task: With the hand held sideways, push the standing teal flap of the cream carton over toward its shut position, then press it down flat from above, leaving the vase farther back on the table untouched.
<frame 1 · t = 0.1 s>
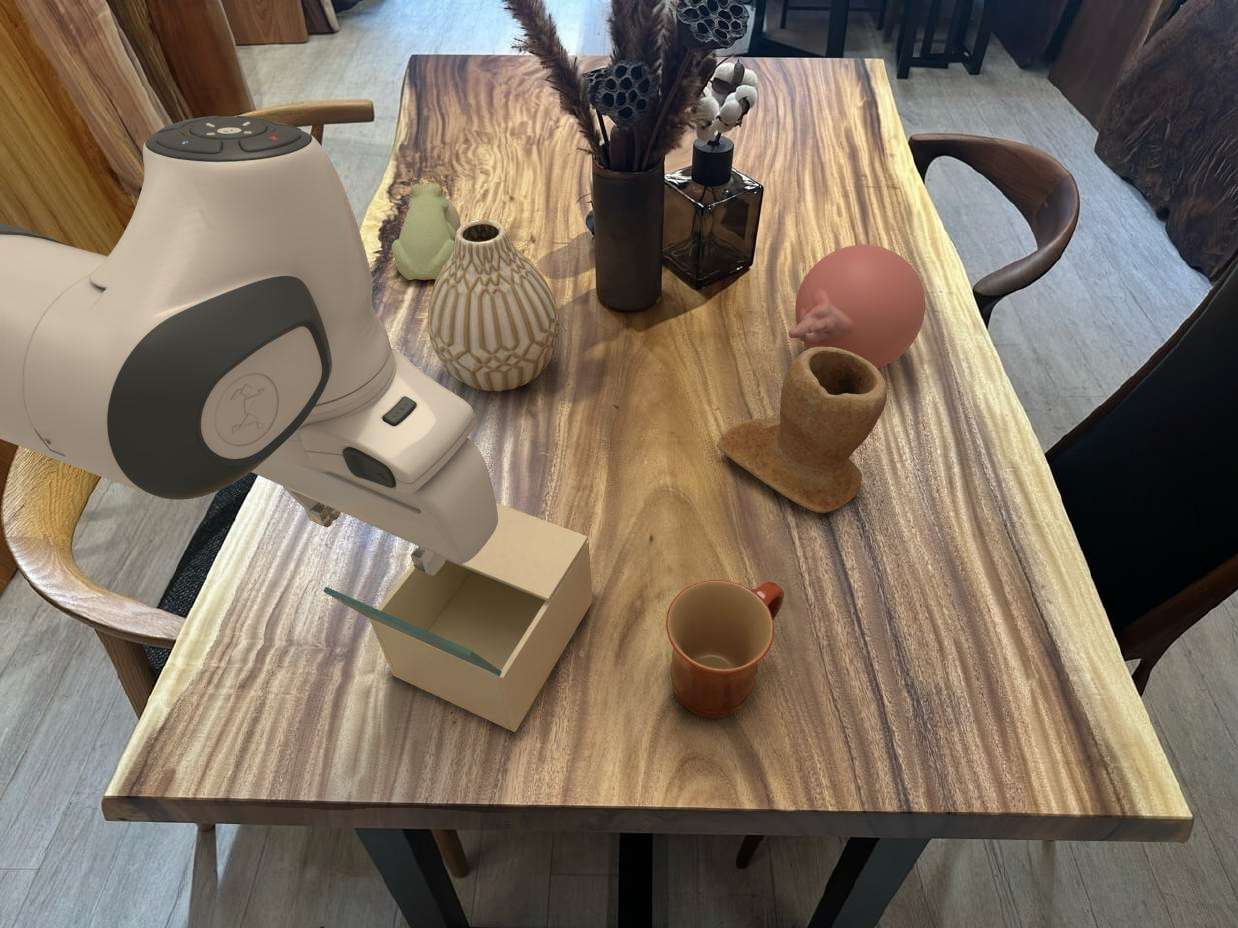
hand: (377, 541, 58), 21 cm above the table, tool pointing down, fingers open, 8 cm apart
vase: (501, 371, 104), on the table
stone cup: (797, 468, 92), on the table
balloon: (833, 365, 104), on the table
mug: (723, 676, 74), on the table
carton: (496, 637, 77), on the table
flap: (414, 632, 61), point 14 cm above the table, hinge at 110.0°
figurine: (435, 256, 123), on the table
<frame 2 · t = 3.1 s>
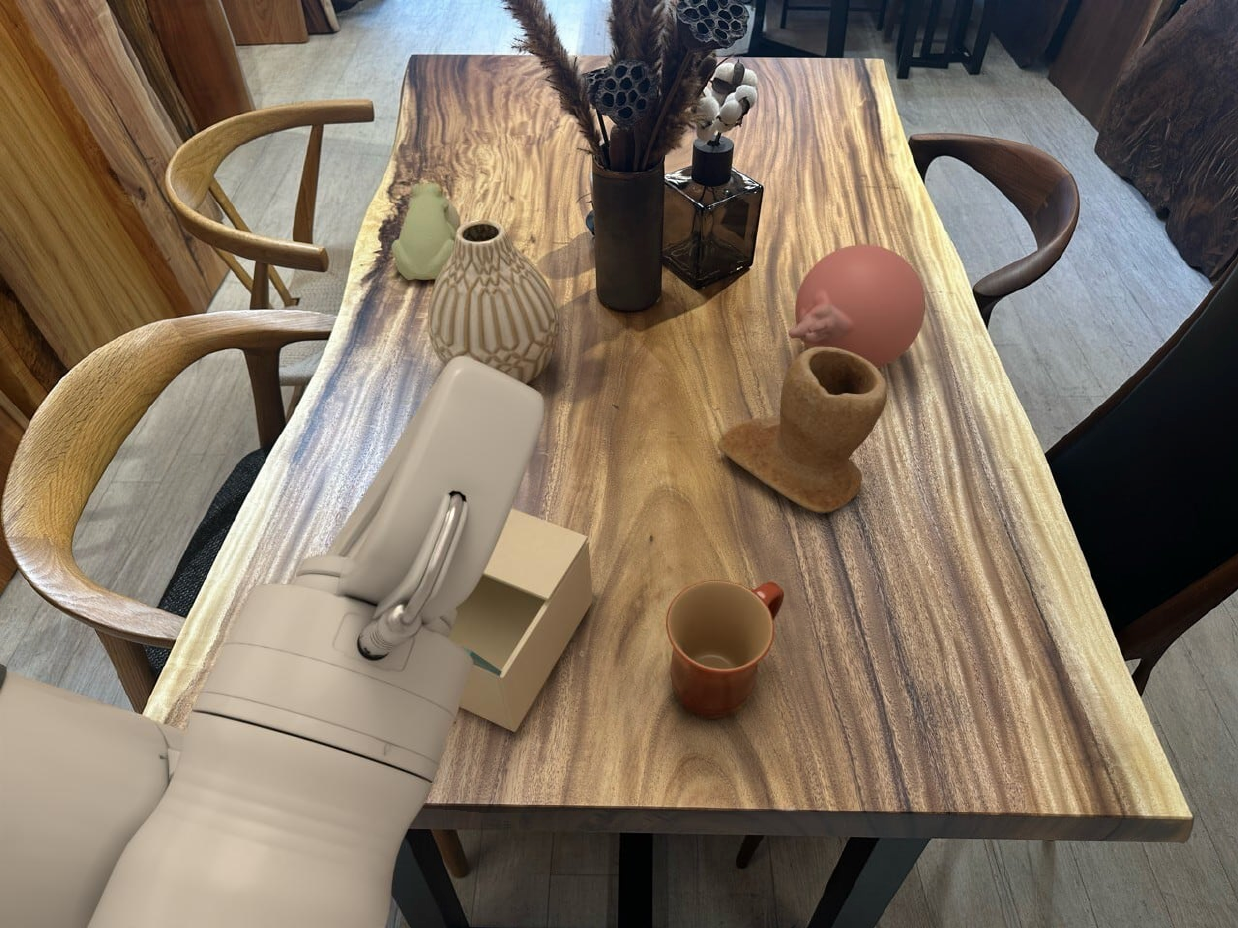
hand: (468, 374, 37), 43 cm above the table, tool pointing upward, fingers closed
nothing on the table moved.
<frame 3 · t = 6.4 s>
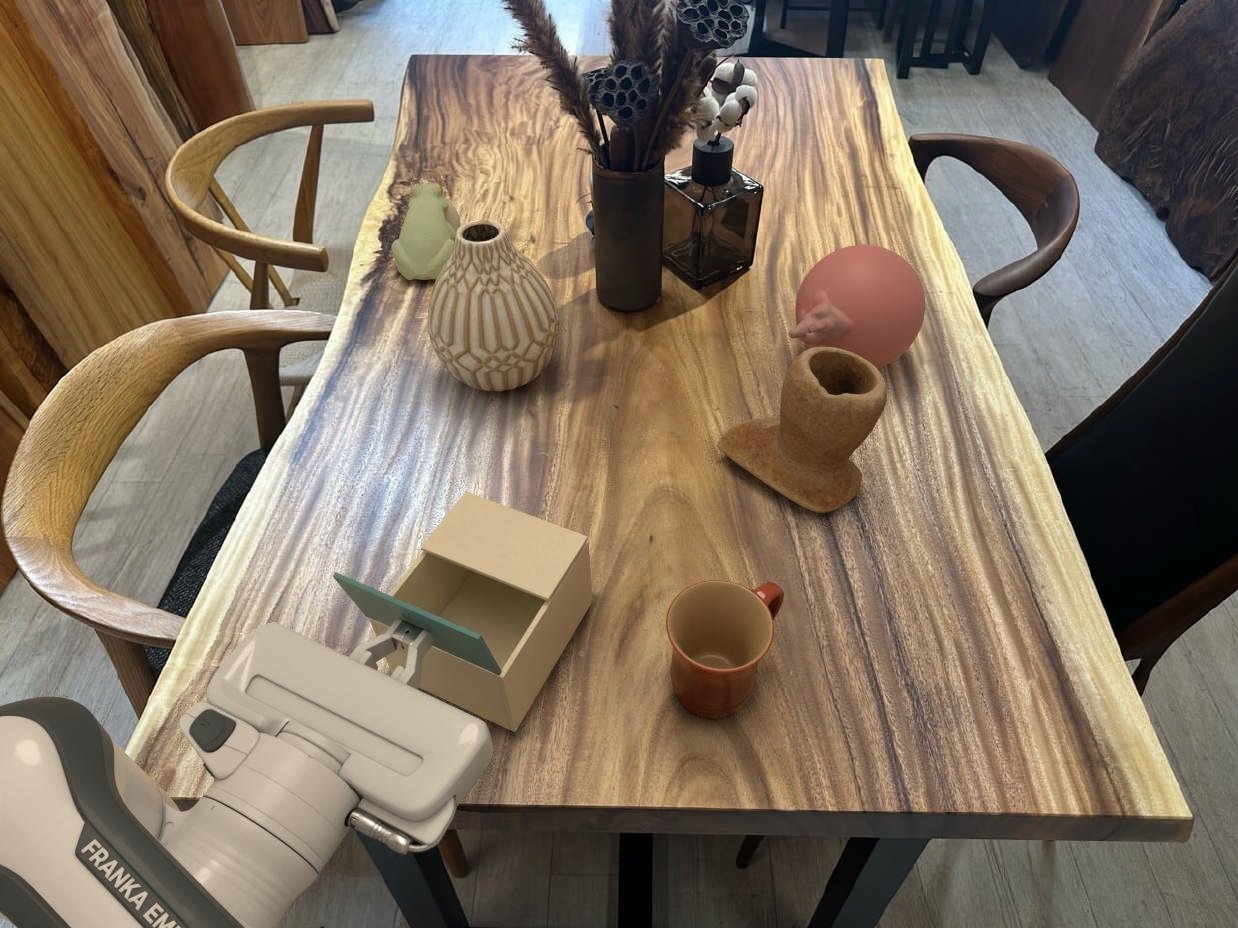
hand: (416, 628, 61), 14 cm above the table, tool horizontal, fingers closed, pressing on flap
flap: (418, 624, 62), point 14 cm above the table, hinge at 100.0°, touching gripper
everything else where it was.
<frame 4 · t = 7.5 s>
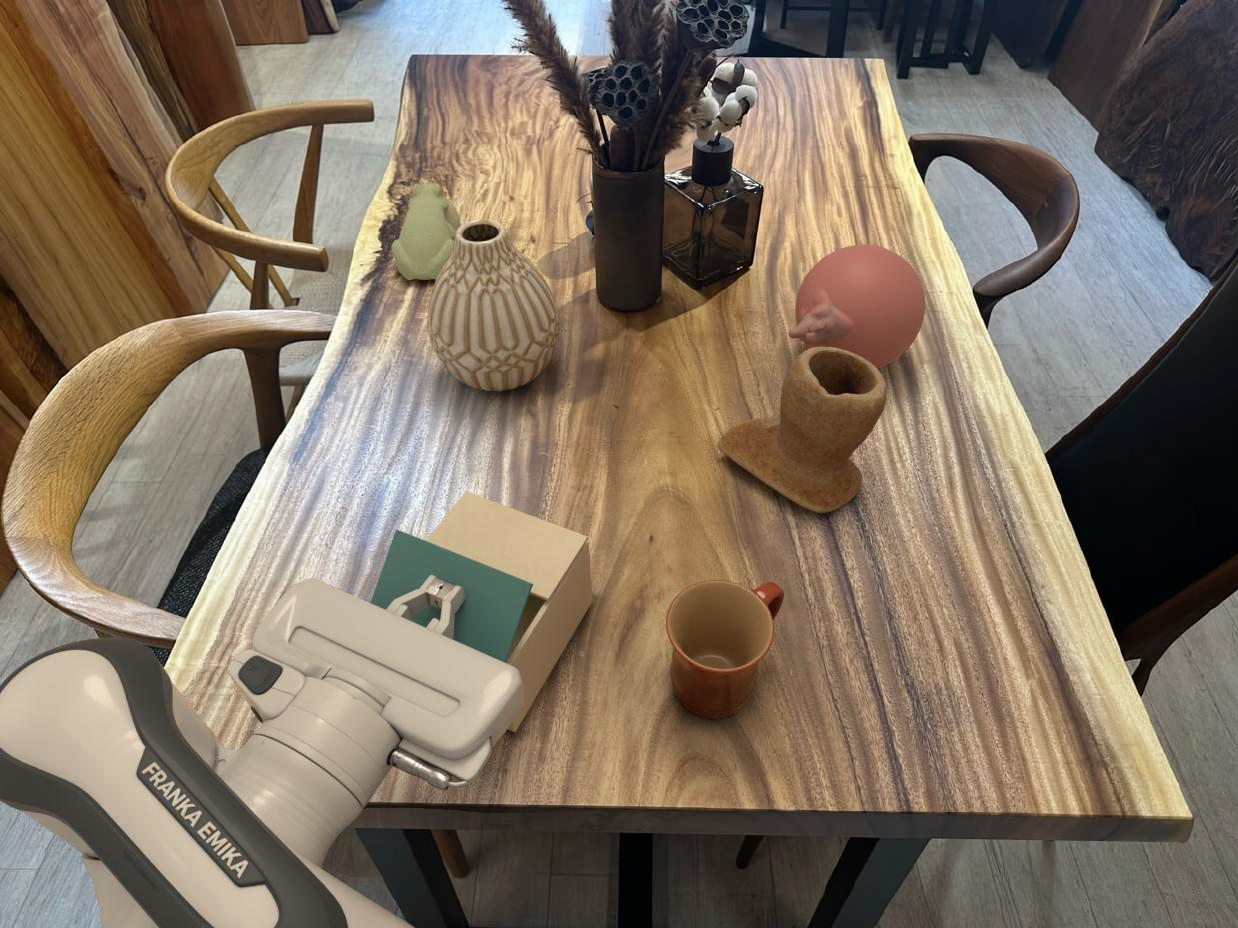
hand: (449, 585, 64), 14 cm above the table, tool horizontal, fingers closed
flap: (447, 599, 65), point 12 cm above the table, hinge at 39.4°, touching gripper
everything else where it was.
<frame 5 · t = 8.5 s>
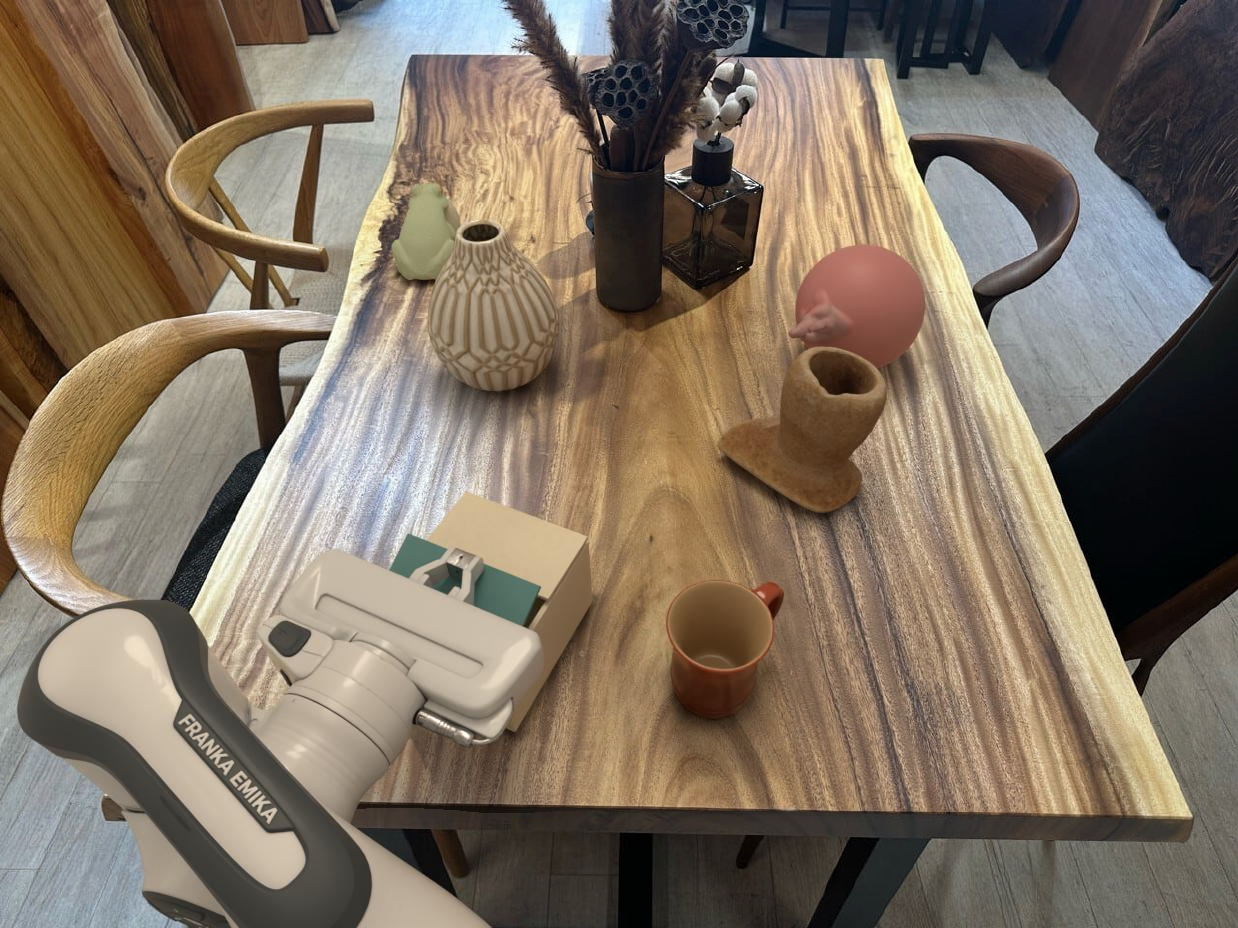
hand: (468, 556, 66), 14 cm above the table, tool horizontal, fingers closed, pressing on flap
flap: (453, 600, 66), point 12 cm above the table, hinge at 23.7°, touching gripper
everything else where it was.
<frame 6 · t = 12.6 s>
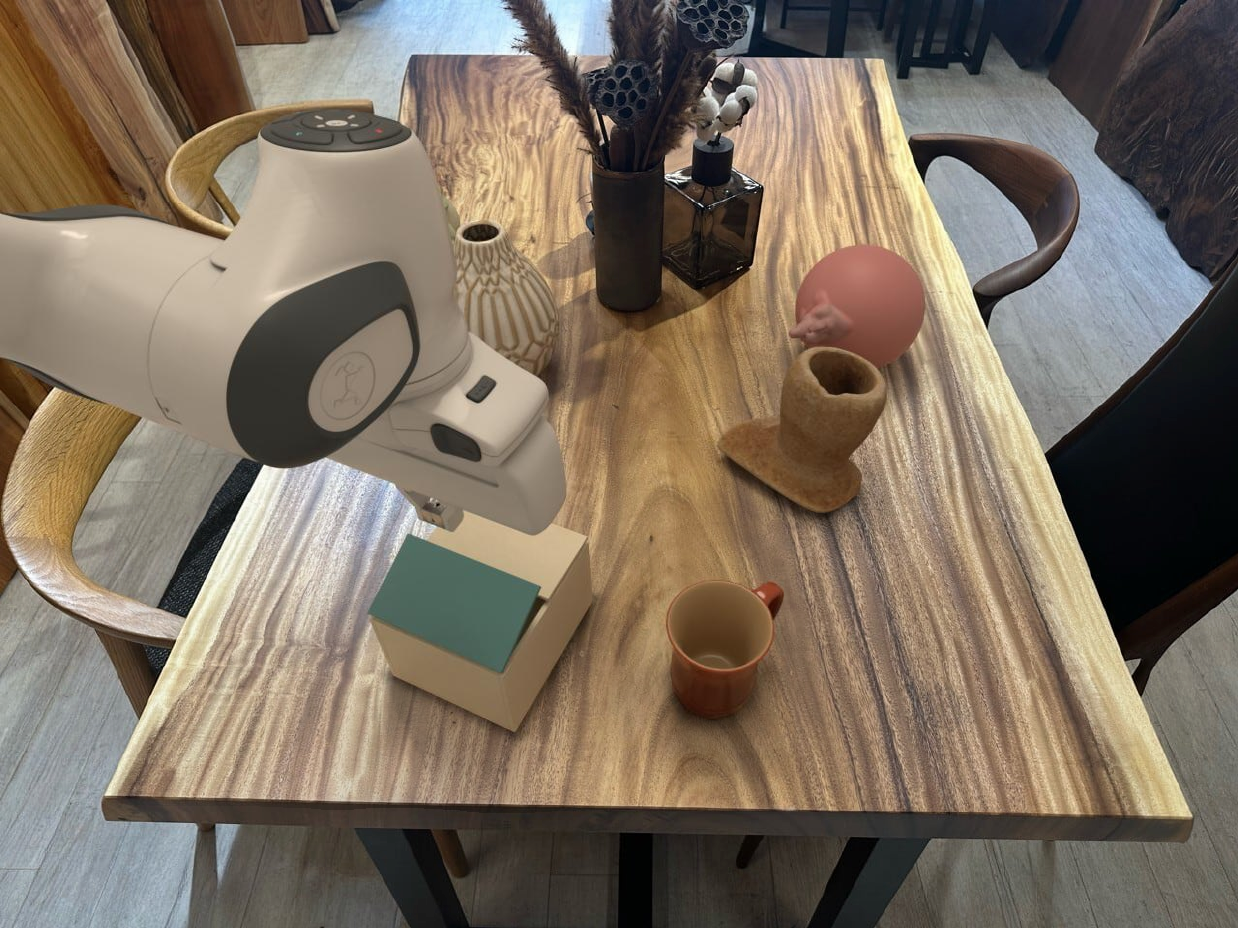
hand: (442, 520, 60), 21 cm above the table, tool pointing down, fingers closed
flap: (453, 600, 66), point 12 cm above the table, hinge at 23.7°
everything else where it was.
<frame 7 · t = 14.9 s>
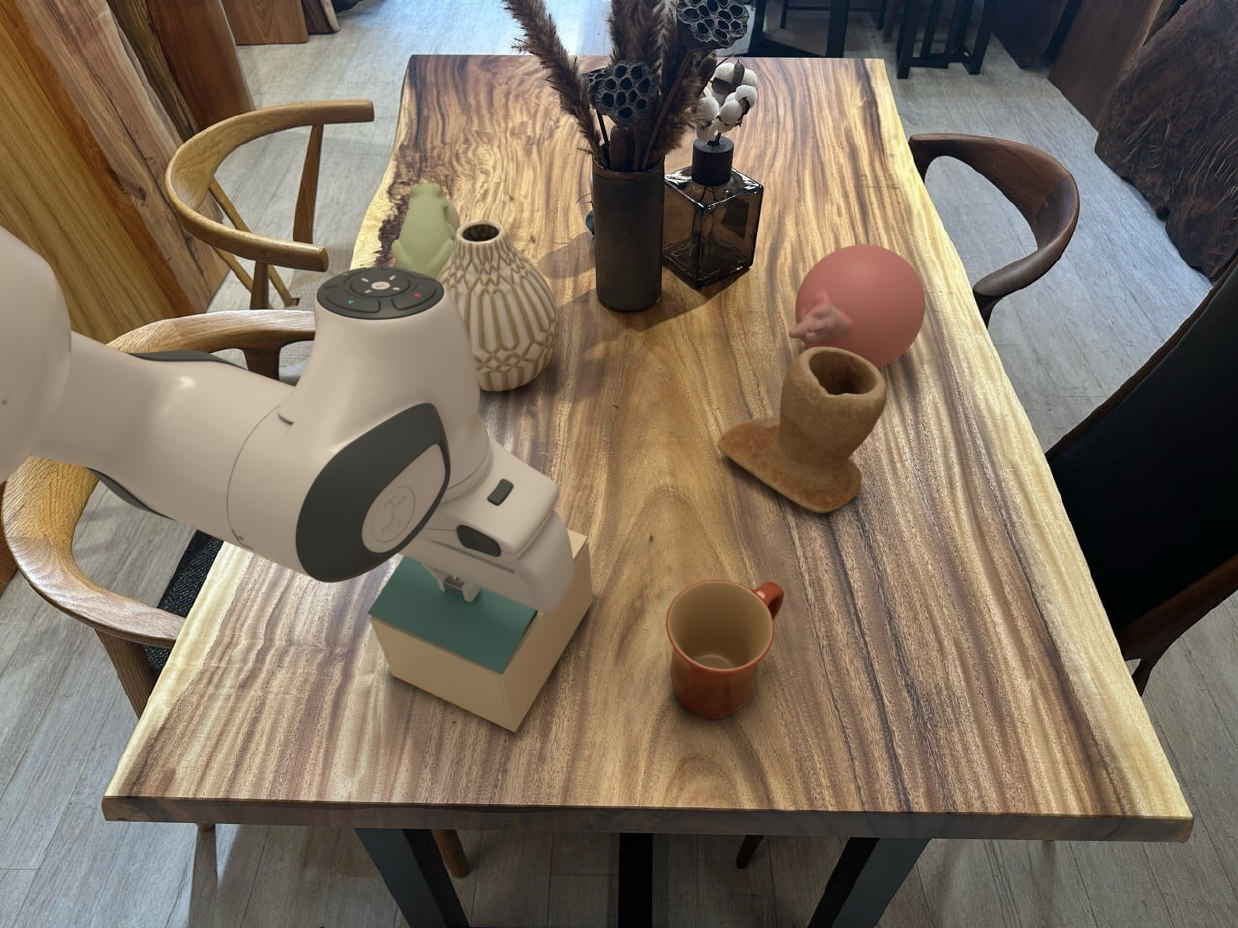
hand: (461, 590, 66), 11 cm above the table, tool pointing down, fingers closed, pressing on flap
flap: (456, 603, 66), point 11 cm above the table, hinge at 11.7°, touching gripper
everything else where it was.
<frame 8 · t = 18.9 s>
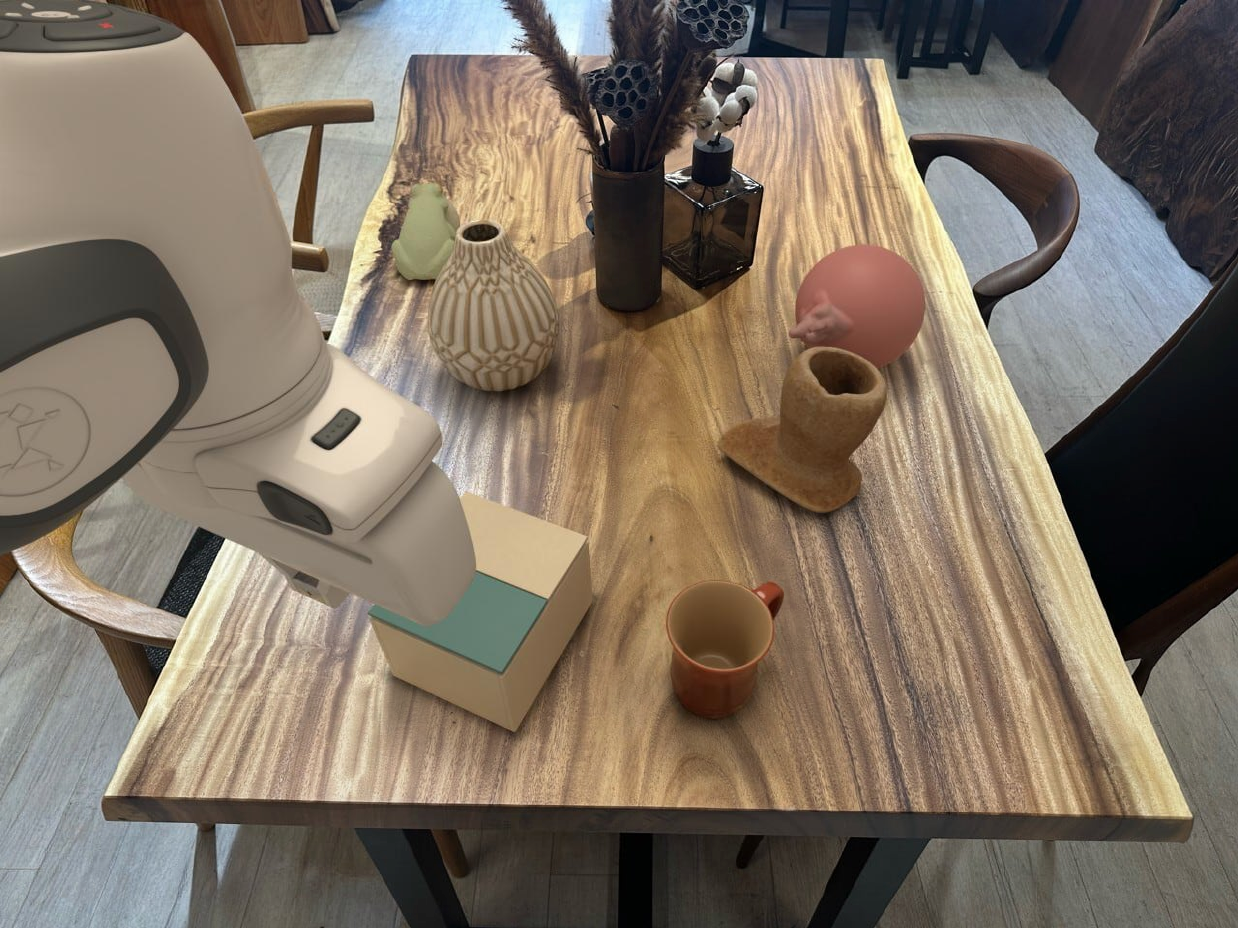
hand: (324, 590, 45), 29 cm above the table, tool pointing down, fingers closed
flap: (458, 607, 67), point 10 cm above the table, hinge at 0.0°
everything else where it was.
at the end: flap at +0° (first picture: +110°); vase moved 0.2 cm from its start; vase 39.8 cm from the carton (horizontally) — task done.
